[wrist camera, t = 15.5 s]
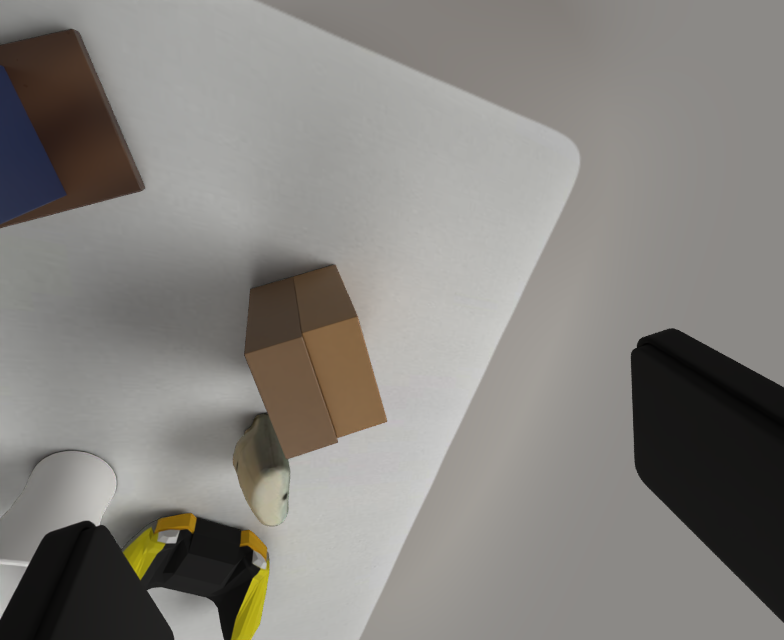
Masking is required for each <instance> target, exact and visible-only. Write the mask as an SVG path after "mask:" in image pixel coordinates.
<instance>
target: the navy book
mask: <svg viewBox="0 0 784 640" xmlns="http://www.w3.org/2000/svg"><path fill="white" fill-rule="evenodd" d="M66 195H67V194H66V192H65V190H64V188H63V186H62V184H61V182H60V180H59V178H58V176H57V174H56V172H55V170H54V168H53V166H52V164H51V162H50V159H49V157H48V155H47V153H46V151H45V149H44V147H43V145H42V143H41V141H40V139H39V137H38V135H37V133H36V131H35V129H34V127H33V125H32V123H31V121H30V119H29V117H28V115H27V113H26V111H25V109H24V107H23V105H22V103H21V101H20V99H19V97H18V95H17V93H16V91H15V88H14V86H13V84H12V82H11V80H10V78H9V76H8V74H7V72H6V70H5V68H4V66H1V65H0V224H3V223H5V222H7V221H9V220H12V219H14V218H16V217H18V216H21V215H23V214H25V213H28V212H30V211H32V210H34V209H37V208H39V207H41V206H43V205H46V204H48V203H50V202H53V201H55V200H57V199H59V198H62V197H64V196H66Z"/></svg>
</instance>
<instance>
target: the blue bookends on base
mask: <svg viewBox="0 0 784 640" xmlns="http://www.w3.org/2000/svg"><path fill="white" fill-rule="evenodd" d="M0 65H1V66H4V68H5V70H6V72H7V74H8V76H9V78H10V80H11V82H12V84H13V86H14V88H15V91H16V93H17V95H18V97H19V99H20V101H21V103H22V105H23V107H24V109H25V111H26V113H27V115H28V117H29V119H30V121H31V123H32V125H33V127H34V129H35V131H36V133H37V135H38V137H39V139H40V141H41V143H42V145H43V147H44V149H45V151H46V153H47V155H48V157H49V159H50V162H51V164H52V166H53V168H54V170H55V172H56V174H57V176H58V178H59V180H60V182H61V184H62V186H63V188H64V190H65V192H66V194H67V195H66V196H64V197H62V198H59V199H57V200H55V201H53V202H50V203H48V204H46V205H43V206H41V207H39V208H37V209H34V210H32V211H30V212H28V213H25V214H23V215H21V216H18V217H16V218H14V219H12V220H9V221H7V222H5V223H3V224H0V228H3V227H7V226H11V225H14V224H18V223H22V222H26V221H29V220H33V219H37V218H41V217H45V216H48V215H52V214H56V213H60V212H64V211H67V210H71V209H75V208H79V207H83V206H86V205H90V204H94V203H98V202H102V201H105V200H109V199H113V198H117V197H121V196H124V195H128V194H132V193H136V192H140V191H142V190H144V189H145V186H144V183H143V181H142V179H141V176H140V174H139V171H138V169H137V167H136V164H135V162H134V160H133V157H132V155H131V153H130V150H129V148H128V146H127V143H126V141H125V139H124V136H123V134H122V132H121V129H120V127H119V125H118V122H117V120H116V117H115V115H114V113H113V110H112V108H111V106H110V103H109V101H108V99H107V96H106V94H105V92H104V89H103V87H102V85H101V82H100V80H99V78H98V75H97V73H96V71H95V68H94V66H93V63H92V61H91V59H90V56H89V54H88V52H87V49H86V47H85V45H84V42H83V40H82V38H81V35H80V33H79V32H78V31H76V30H74V29H69V30H65V31H60V32H56V33H51V34H47V35H43V36H38V37H34V38H29V39H25V40H20V41H16V42H12V43H7V44H3V45H0Z"/></svg>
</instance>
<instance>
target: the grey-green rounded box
mask: <svg viewBox="0 0 784 640" xmlns="http://www.w3.org/2000/svg"><path fill="white" fill-rule="evenodd" d="M233 465H234V468H235V470H236V473H237V476H238V480H239V484H240V487H241V489H242V491H243V494H244V497H245V499H246V501H247V503H248V504H249V506H250V508H251V510H252V512H253V513H254V515H255V516H256V517H257V519H258V520H259V521H260V522H261V523H262V524H263V525H266V526H278V525H279V524H281V523H282V522H283V521H284V520H285V518H286V516H287V513H288V497H289V483H290V467H289V462H288V459H286V458H285V455H284V453H283V450H282V448H281V445H280V443H279V440H278V438H277V435H276V433H275V430H274V428H273V425H272V423H271V420H270V418H269V415H268V414H267V413H264V414H260V415H257V416H256V417H255V418H254V420H253V423H252V426H251V427H249V428H248V429H247V430H246V431H245V433H244V435H243V436H242V437H241V438H240V439H239V441H238V442H237V444H236V447H235V451H234V454H233Z"/></svg>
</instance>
